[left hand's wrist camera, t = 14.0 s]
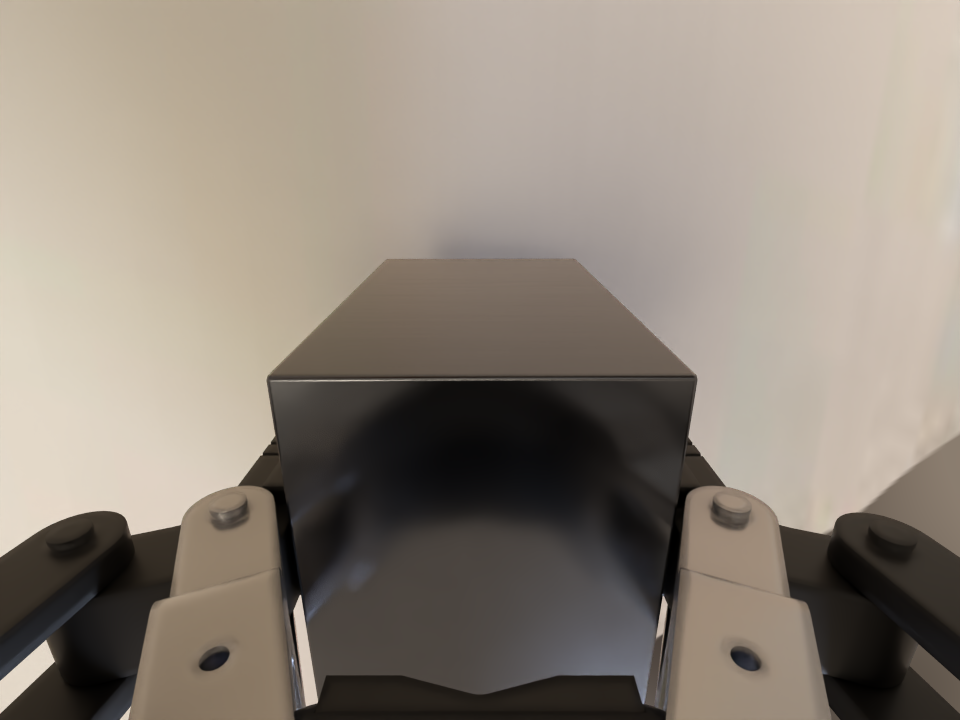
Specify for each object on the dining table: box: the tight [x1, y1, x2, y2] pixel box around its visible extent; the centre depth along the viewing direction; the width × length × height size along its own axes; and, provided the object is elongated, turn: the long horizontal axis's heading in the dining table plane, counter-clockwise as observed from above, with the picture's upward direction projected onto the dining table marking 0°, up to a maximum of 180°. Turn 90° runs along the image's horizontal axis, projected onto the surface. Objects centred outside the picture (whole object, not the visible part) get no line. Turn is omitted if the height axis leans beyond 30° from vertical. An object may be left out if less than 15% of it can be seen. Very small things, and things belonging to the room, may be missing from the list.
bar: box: [267, 259, 697, 704], centre depth 15 cm, size 23×6×9 cm, turn 0°
